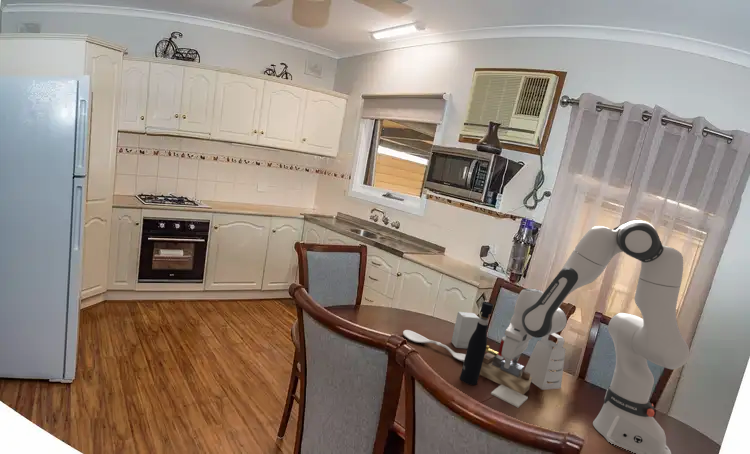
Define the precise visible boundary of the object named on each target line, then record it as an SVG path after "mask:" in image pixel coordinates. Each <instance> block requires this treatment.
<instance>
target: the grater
mask: <svg viewBox="0 0 750 454" xmlns="http://www.w3.org/2000/svg"><path fill="white" fill-rule="evenodd" d="M550 335H551V336H552V337H555V338H556V339H557V343H556V342H554V341H553V340H549V338H550ZM564 345H565V339H564V337H563V336H561V335H559V334H558V333H553V334H548V335H546V336H543V337H541V340H537V342H536V344H535V346H534V348H533V350H532V352H531V354H530V357H529V359H528V361H527V363H526V365H525V366H524V369H523V371H526V372H528V373H530V374H531V375H530V377H532V380H531V384H534V385H535V386H536V387H537V388H538V389H540V390H542V391H543V390H554V389H561V388H562V384H563V383H562V382H563V373H564V367H565V359H566V358H565V357H566V351H567V350H566V348H565V347H564ZM548 382H549V383H548Z"/></svg>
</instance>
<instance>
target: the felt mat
mask: <svg viewBox="0 0 750 454" xmlns="http://www.w3.org/2000/svg"><path fill="white" fill-rule="evenodd" d="M490 395H492V396H494V397H496V398H498V399H499V400H502V401H504V402H506V403H508V404H510V405H512V406H513V407H516V408H520V407H521V406H522V405H523V404H524V403H525V402H526V401H527V400H528V399H529V398H528V395H525V394H524V395H523V394H521V393H519V392H517V391H515V390H513V389H510V388H508V387H506V386H504V385H502V384H501V385H500V384H499V385H498V386H497V387H496V388H494V389H493V390H492V391H491V392H490Z"/></svg>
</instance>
